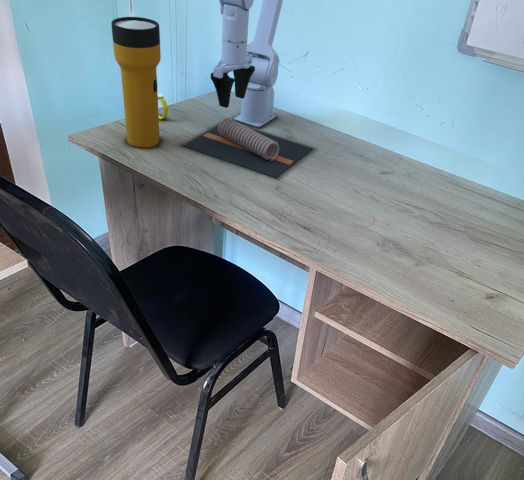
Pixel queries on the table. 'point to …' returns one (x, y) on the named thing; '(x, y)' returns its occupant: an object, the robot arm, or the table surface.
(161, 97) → the watch
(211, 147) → the mat
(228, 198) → the table surface
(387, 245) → the table surface
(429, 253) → the table surface
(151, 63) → the flashlight
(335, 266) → the table surface
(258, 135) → the coil
